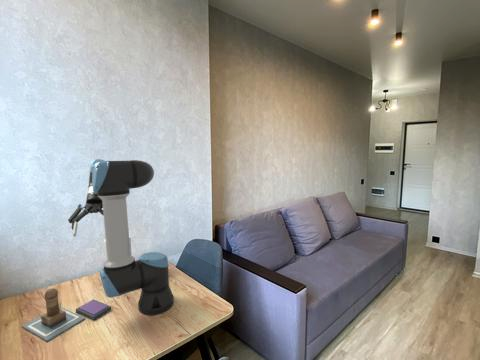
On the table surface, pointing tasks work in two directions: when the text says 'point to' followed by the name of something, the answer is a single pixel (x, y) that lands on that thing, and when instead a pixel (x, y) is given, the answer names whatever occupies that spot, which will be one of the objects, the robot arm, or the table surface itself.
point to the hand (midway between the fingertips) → (90, 233)
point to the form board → (50, 333)
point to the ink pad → (93, 309)
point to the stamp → (52, 309)
